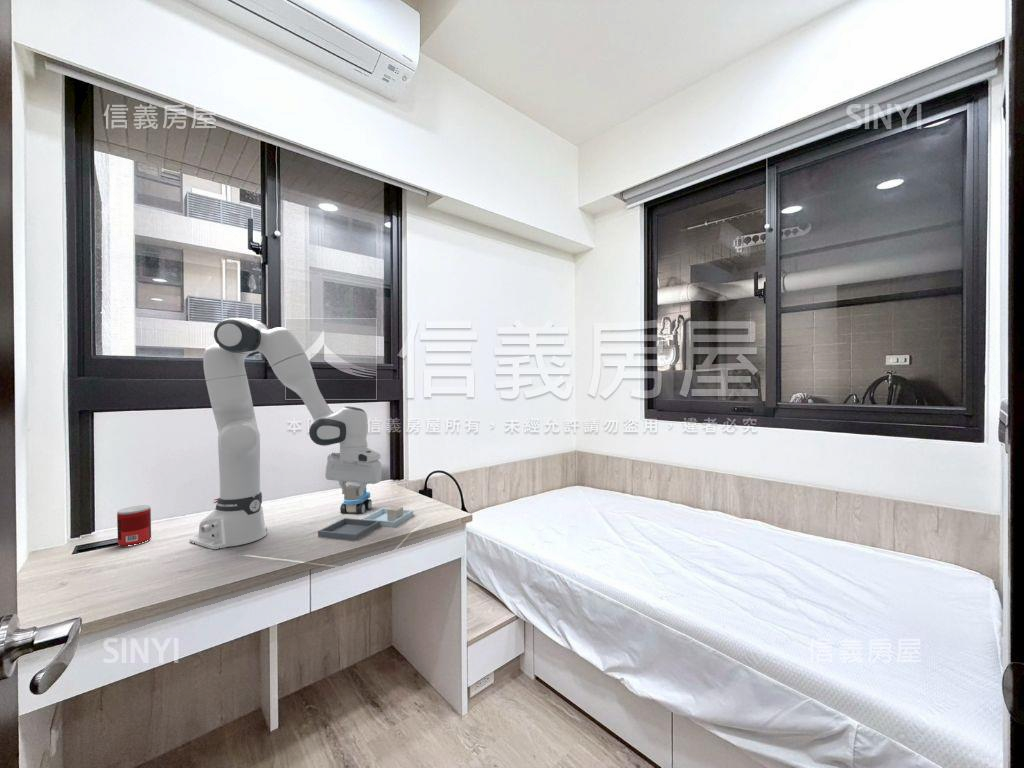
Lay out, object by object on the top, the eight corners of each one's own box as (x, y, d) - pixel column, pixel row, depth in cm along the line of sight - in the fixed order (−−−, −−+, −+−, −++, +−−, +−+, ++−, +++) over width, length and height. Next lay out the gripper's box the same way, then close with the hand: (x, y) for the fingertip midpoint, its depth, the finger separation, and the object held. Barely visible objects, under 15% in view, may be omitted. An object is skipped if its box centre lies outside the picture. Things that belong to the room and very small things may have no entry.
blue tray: (361, 525, 146) (360, 519, 146) (382, 514, 159) (382, 507, 159) (394, 529, 142) (394, 522, 142) (413, 516, 155) (413, 510, 155)
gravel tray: (318, 538, 135) (317, 531, 135) (344, 524, 147) (344, 518, 147) (355, 542, 131) (355, 534, 131) (379, 528, 144) (379, 521, 144)
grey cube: (387, 520, 149) (387, 509, 149) (393, 517, 153) (393, 506, 153) (397, 521, 148) (397, 510, 148) (403, 518, 152) (403, 507, 152)
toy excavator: (379, 503, 173) (378, 462, 173) (360, 516, 157) (359, 471, 156) (359, 503, 174) (358, 462, 174) (339, 516, 157) (338, 470, 157)
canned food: (157, 539, 136) (156, 505, 136) (129, 548, 129) (128, 513, 129) (140, 537, 138) (139, 504, 138) (111, 546, 131) (110, 511, 131)
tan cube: (344, 499, 140) (344, 487, 140) (349, 496, 144) (350, 485, 144) (355, 500, 140) (355, 488, 140) (360, 497, 144) (361, 485, 144)
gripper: (321, 453, 142) (320, 494, 142) (373, 457, 136) (373, 499, 136) (334, 451, 148) (333, 490, 148) (384, 454, 142) (383, 494, 142)
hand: (352, 494), depth 142 cm, fingers closed on tan cube, 4 cm apart
